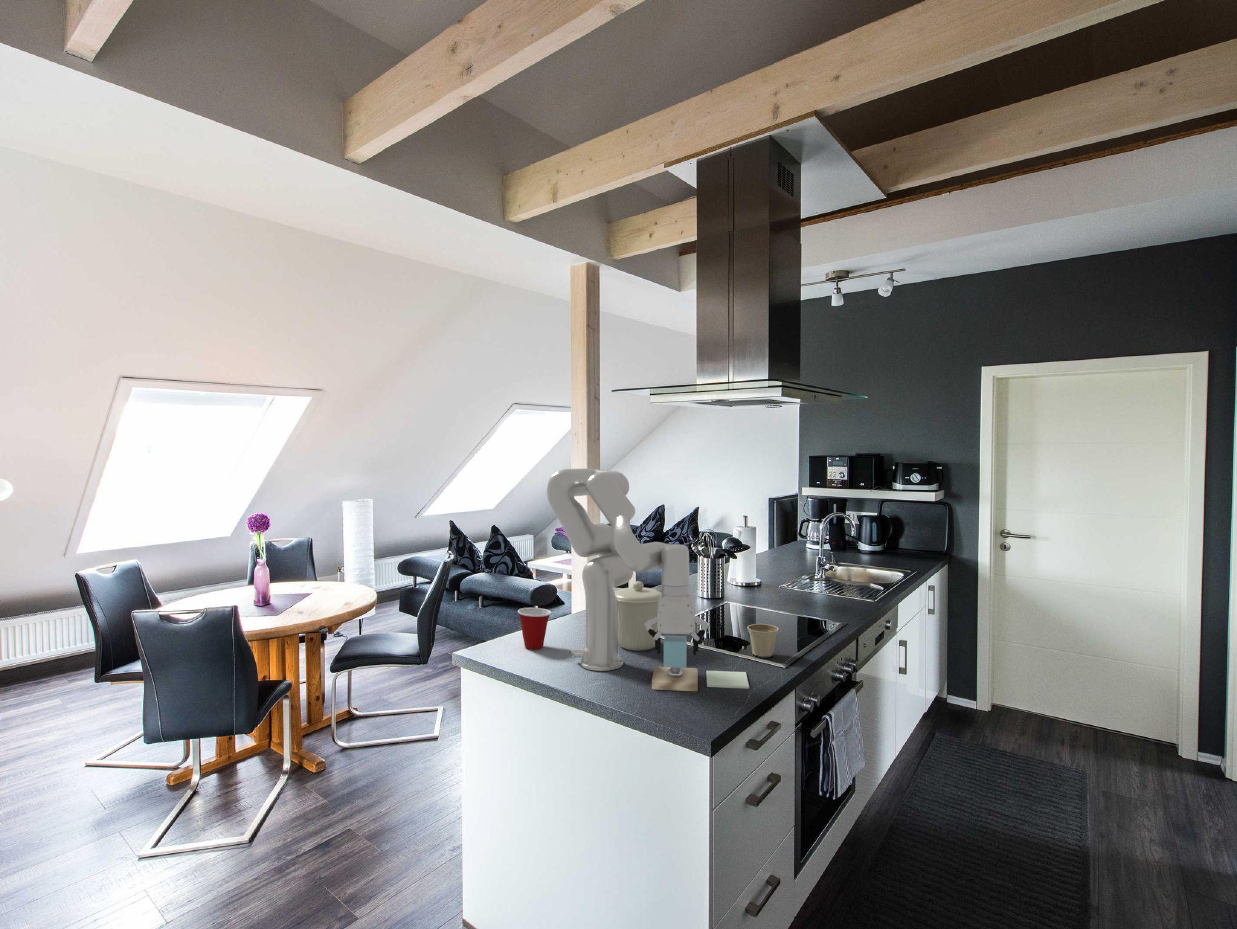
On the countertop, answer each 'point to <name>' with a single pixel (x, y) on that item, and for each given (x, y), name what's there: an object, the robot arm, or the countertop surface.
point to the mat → (727, 679)
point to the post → (675, 672)
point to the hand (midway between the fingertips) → (676, 653)
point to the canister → (636, 616)
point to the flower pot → (762, 638)
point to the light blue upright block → (675, 651)
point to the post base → (675, 679)
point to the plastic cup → (534, 626)
